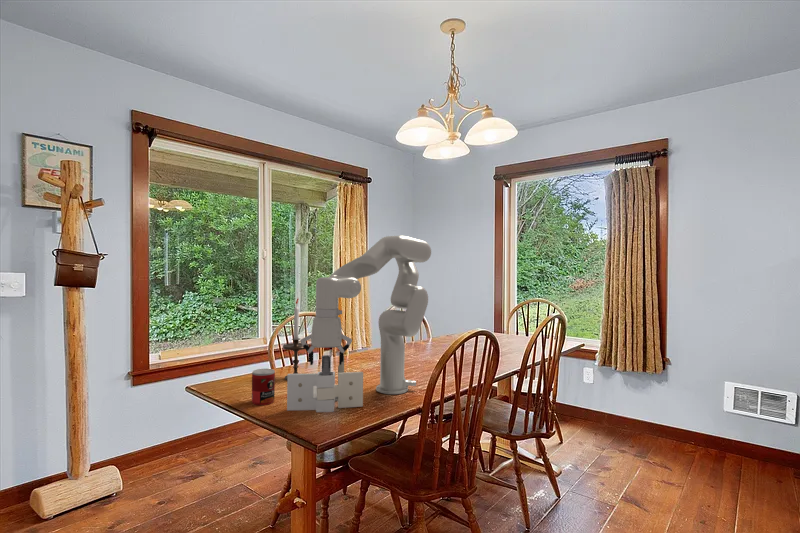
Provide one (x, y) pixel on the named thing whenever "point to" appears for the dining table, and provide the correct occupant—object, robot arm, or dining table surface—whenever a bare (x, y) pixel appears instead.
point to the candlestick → (295, 340)
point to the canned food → (263, 386)
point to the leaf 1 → (309, 392)
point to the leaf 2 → (345, 390)
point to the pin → (326, 365)
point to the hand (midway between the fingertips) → (326, 364)
